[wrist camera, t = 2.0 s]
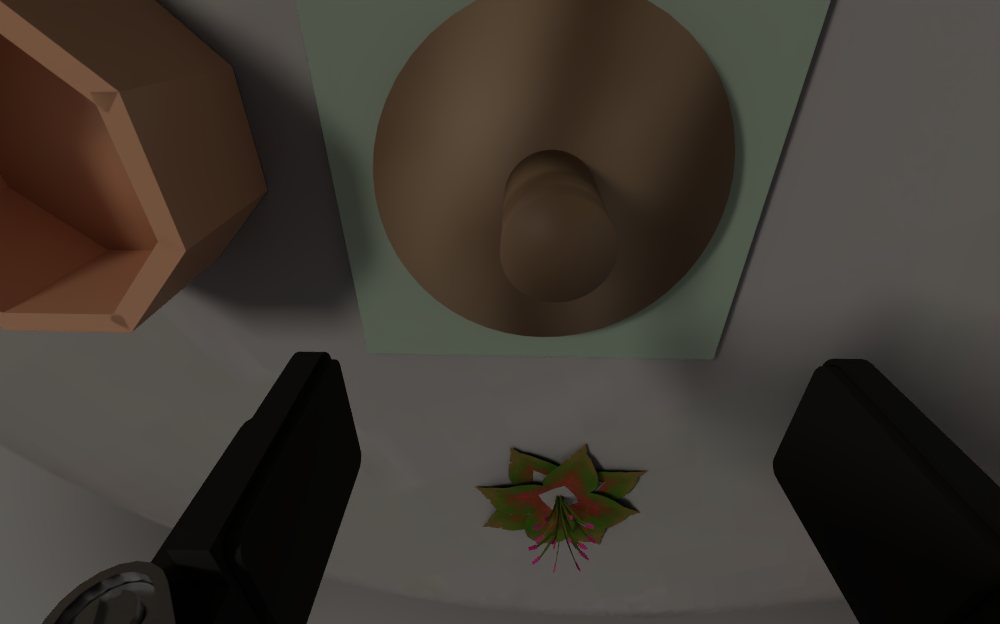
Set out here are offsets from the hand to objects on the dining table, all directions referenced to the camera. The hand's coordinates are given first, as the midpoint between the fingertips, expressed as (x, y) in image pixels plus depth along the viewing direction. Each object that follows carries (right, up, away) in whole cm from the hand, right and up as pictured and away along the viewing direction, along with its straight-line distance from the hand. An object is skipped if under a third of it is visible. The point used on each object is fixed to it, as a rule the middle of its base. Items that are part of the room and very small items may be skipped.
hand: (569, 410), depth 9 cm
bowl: (-17, +9, +10) cm, 22 cm away
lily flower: (+3, -11, +23) cm, 25 cm away
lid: (+1, +7, +10) cm, 12 cm away
